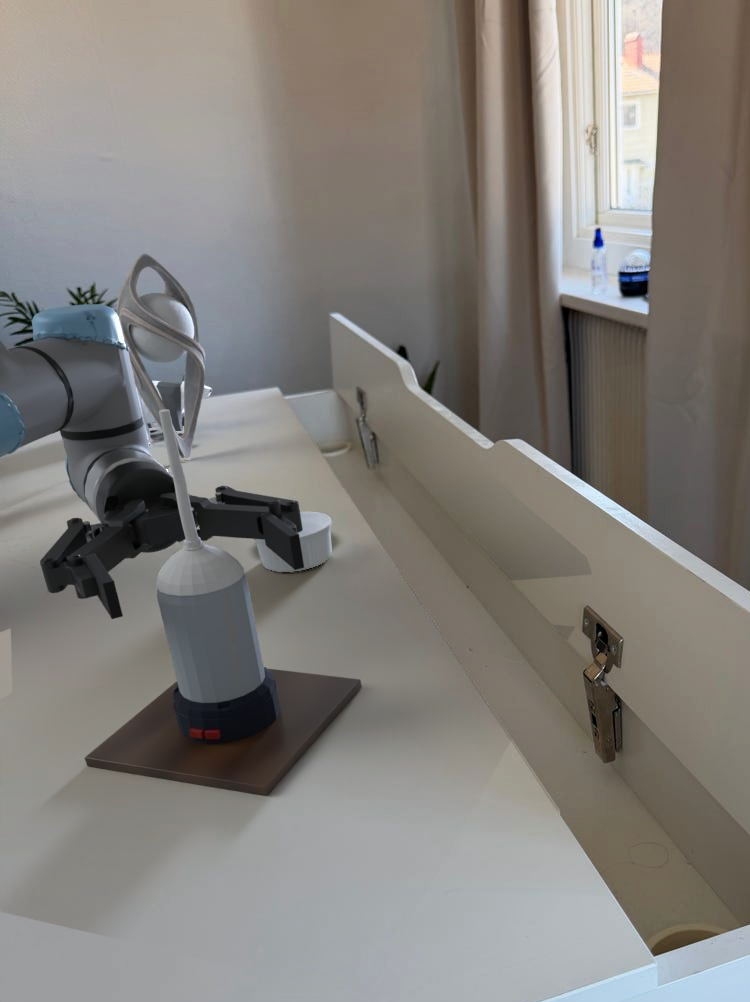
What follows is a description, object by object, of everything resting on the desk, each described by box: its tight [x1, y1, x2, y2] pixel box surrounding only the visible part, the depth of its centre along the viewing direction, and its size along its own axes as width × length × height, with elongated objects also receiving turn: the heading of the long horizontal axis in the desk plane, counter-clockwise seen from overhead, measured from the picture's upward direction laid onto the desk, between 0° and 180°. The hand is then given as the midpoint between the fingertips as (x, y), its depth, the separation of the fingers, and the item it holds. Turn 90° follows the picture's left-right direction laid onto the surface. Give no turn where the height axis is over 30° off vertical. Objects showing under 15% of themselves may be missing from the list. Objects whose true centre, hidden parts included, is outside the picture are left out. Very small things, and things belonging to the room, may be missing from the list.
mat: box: [84, 668, 362, 796], centre depth 79 cm, size 16×16×1 cm
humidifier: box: [155, 409, 280, 744], centre depth 74 cm, size 8×8×25 cm
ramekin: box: [253, 511, 333, 573], centre depth 110 cm, size 9×9×4 cm
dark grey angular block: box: [141, 374, 213, 431], centre depth 166 cm, size 15×6×10 cm, turn 91°
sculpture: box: [115, 253, 206, 459], centre depth 144 cm, size 12×12×30 cm
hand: (209, 575), depth 70 cm, fingers open, 13 cm apart
